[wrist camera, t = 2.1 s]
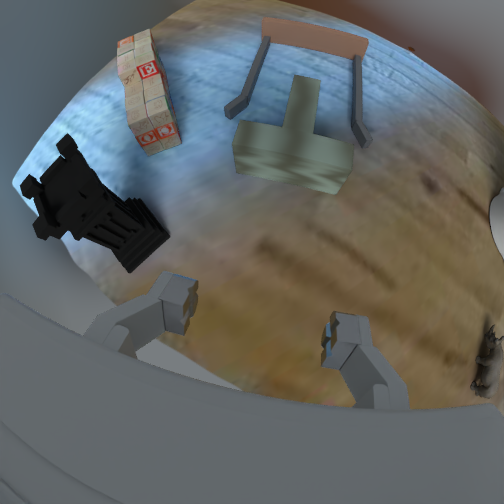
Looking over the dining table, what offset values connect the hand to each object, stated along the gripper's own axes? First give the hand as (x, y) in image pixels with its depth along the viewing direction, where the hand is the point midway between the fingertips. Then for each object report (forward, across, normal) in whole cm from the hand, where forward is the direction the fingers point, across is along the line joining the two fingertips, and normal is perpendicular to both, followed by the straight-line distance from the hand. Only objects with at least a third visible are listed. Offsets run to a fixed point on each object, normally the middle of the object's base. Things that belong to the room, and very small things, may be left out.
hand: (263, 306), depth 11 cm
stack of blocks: (+39, +26, -2) cm, 47 cm away
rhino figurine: (+16, -42, +21) cm, 49 cm away
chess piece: (+22, +20, +14) cm, 33 cm away
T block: (+36, 0, 0) cm, 36 cm away
